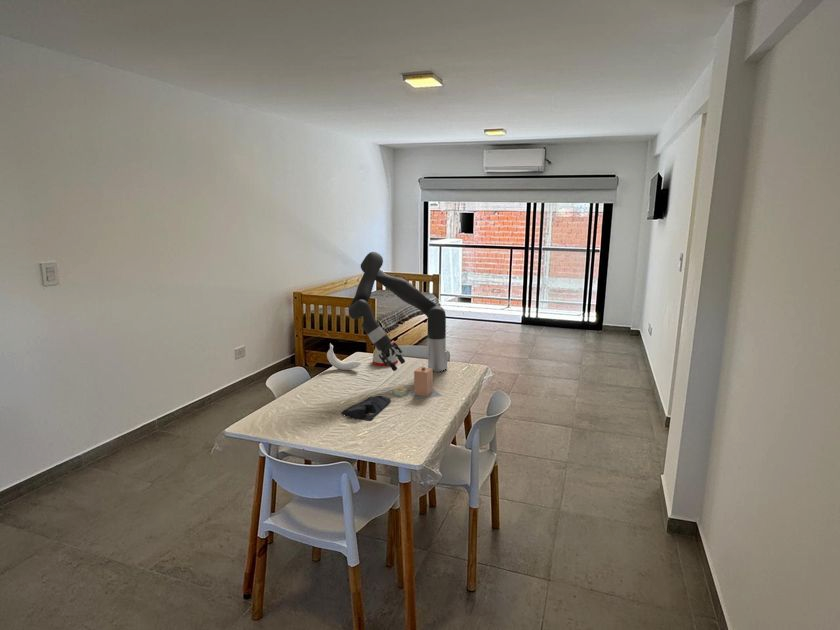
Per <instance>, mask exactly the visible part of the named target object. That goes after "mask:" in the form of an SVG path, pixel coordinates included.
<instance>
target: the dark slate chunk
mask: <svg viewBox="0 0 840 630" xmlns="http://www.w3.org/2000/svg"><path fill="white" fill-rule="evenodd" d="M391 401H392V399H391V398H389V397H386V396H383V395H379V394H378V395H373V396H369V397H367V398H366V399H364V400H363V401H360V402H358V403H356V404H353V405H352V406H351V405H350V406H349V407H347V408H345V409H344V410H342V411H341V413H340V414H341V415H342V414H343V415H345V416H349V417H348V418H350V419H352V418H354V419H353V420H357V419H358V420H359V421H372V420H373V419H374V418H375V417H376V416H378V415H379V414H380V413H382V411H383V410H384V409H385V408H386V407H387V406H388V404H390V403H391ZM367 414H368V415H367ZM345 416H344V417H345ZM358 420H357V421H358Z"/></svg>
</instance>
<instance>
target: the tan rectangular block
mask: <svg viewBox="0 0 840 630" xmlns="http://www.w3.org/2000/svg"><path fill="white" fill-rule="evenodd" d="M413 373H414V374H413V380H414V384H413V385H414V389H413V390H415V395H421V396H428V395H430V394H431V393H432V392H433V389H434V386H433V385H434V384H433V383H434V382H433V381H434V378H433V376H434V375H433V373H434V372H433V369H431V368H428V367H426V366H422V367H421V366H419V367H418V368H417V369H415V370H414V372H413Z"/></svg>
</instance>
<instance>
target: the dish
mask: <svg viewBox="0 0 840 630" xmlns="http://www.w3.org/2000/svg"><path fill="white" fill-rule="evenodd" d="M398 388H399V387H397V388H395V389H393V396H397V397H398V396H400V397H403V396H405V395H406V394H407V393H408V392H407V391H408V388H404V387H402V388H403V389H404V390H403V391H397V389H398Z"/></svg>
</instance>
